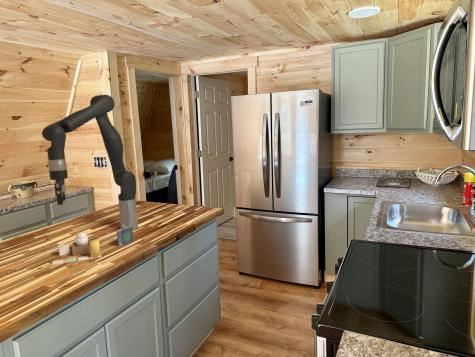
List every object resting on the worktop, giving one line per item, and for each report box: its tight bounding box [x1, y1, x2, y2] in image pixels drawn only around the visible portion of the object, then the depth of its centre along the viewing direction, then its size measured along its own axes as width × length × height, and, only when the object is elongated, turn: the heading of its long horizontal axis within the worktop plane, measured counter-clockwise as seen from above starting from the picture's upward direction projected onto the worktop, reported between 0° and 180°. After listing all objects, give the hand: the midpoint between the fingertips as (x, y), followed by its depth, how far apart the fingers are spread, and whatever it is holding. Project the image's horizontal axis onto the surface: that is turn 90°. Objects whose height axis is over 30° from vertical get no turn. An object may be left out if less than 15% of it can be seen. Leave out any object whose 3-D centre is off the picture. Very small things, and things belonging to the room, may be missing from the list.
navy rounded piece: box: [116, 224, 134, 247], centre depth 168 cm, size 9×3×11 cm, turn 151°
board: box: [51, 239, 102, 266], centre depth 155 cm, size 20×18×5 cm
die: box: [57, 243, 71, 257], centre depth 157 cm, size 4×4×4 cm
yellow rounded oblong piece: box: [89, 239, 102, 259], centre depth 153 cm, size 4×4×7 cm
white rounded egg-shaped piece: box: [75, 231, 89, 246], centre depth 158 cm, size 5×5×6 cm
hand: (61, 202), depth 163 cm, fingers open, 8 cm apart
